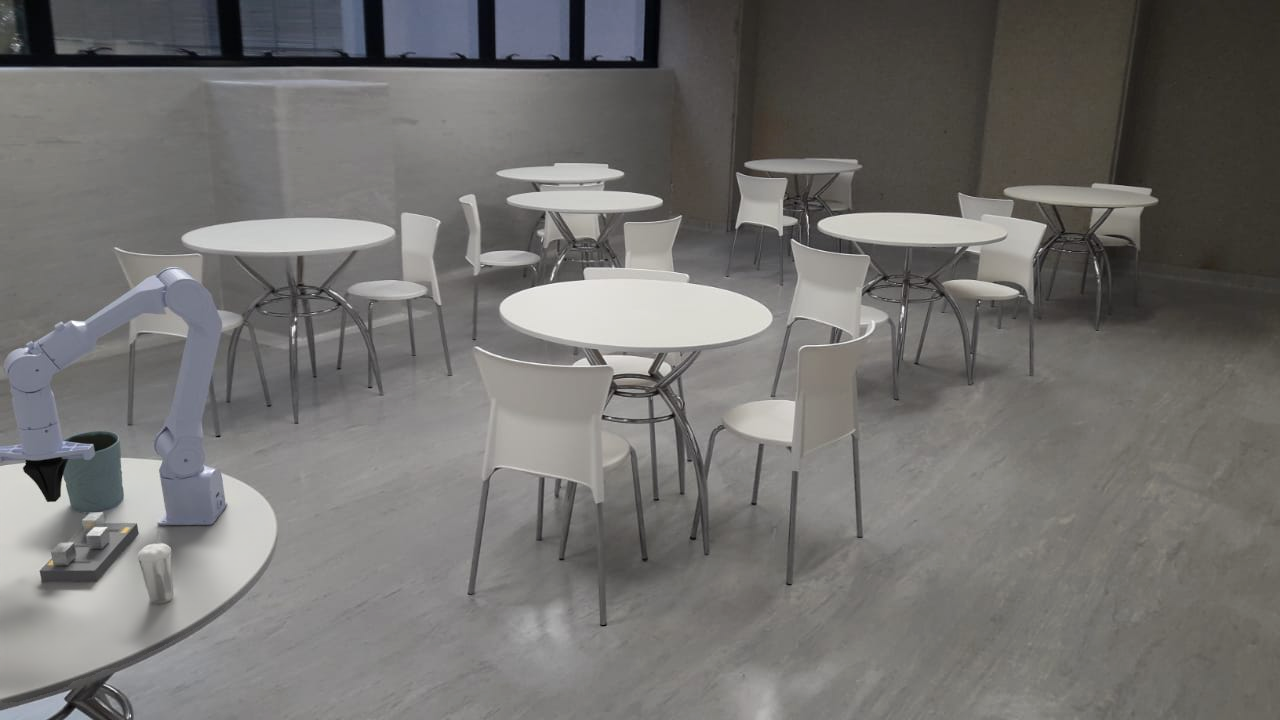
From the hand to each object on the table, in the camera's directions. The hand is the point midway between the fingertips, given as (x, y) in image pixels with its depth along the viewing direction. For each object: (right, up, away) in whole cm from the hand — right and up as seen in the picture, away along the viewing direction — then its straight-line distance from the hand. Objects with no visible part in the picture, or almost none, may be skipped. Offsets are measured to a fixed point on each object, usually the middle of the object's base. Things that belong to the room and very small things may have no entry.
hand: (53, 499), depth 163 cm
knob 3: (+8, -8, 0) cm, 11 cm away
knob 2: (+4, -6, +5) cm, 9 cm away
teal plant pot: (-2, -3, +18) cm, 19 cm away
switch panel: (+6, -9, +1) cm, 11 cm away
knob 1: (+5, -9, -5) cm, 12 cm away
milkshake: (+23, -14, -10) cm, 28 cm away
